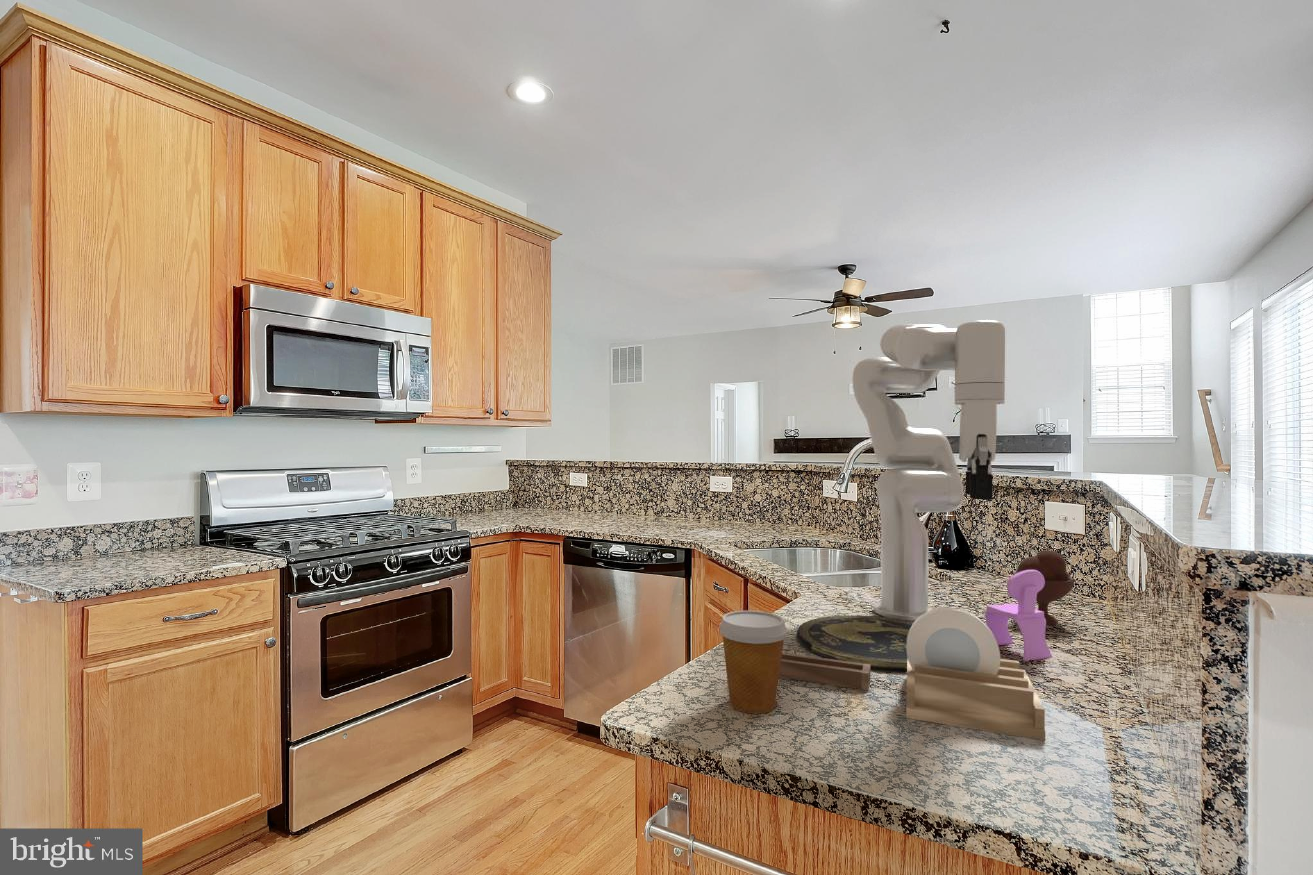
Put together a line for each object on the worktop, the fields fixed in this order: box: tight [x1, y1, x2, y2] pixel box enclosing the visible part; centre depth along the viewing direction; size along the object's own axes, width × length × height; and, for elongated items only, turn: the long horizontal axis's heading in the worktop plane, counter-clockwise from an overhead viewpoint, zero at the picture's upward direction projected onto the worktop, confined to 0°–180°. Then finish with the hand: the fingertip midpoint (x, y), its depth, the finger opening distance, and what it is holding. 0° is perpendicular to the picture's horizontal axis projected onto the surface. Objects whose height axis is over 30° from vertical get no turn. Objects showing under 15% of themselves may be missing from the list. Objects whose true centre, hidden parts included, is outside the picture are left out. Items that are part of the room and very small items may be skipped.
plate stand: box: [779, 652, 871, 691], centre depth 98 cm, size 4×15×2 cm, turn 68°
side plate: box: [906, 607, 1001, 675], centre depth 89 cm, size 2×12×12 cm
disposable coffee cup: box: [718, 610, 789, 715], centre depth 87 cm, size 10×10×12 cm
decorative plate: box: [796, 614, 915, 674], centre depth 115 cm, size 30×2×30 cm
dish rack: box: [905, 658, 1046, 741], centre depth 88 cm, size 16×16×5 cm
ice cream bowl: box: [1012, 549, 1076, 626], centre depth 131 cm, size 11×11×15 cm
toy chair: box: [984, 570, 1053, 661], centre depth 112 cm, size 8×9×15 cm
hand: (978, 496), depth 105 cm, fingers open, 9 cm apart
